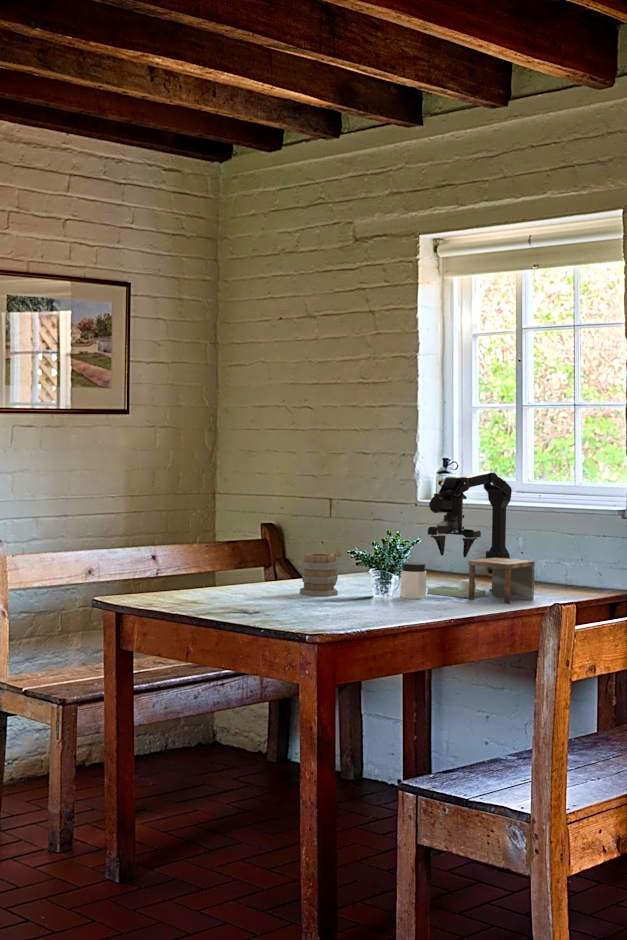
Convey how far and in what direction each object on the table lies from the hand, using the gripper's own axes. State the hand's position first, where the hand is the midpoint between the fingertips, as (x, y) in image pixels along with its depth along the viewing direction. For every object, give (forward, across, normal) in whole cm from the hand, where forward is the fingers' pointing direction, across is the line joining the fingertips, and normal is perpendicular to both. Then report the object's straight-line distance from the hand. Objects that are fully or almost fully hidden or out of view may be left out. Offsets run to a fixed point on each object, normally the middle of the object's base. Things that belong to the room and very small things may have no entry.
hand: (453, 556), depth 451 cm
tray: (+14, -2, +6) cm, 15 cm away
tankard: (+14, -37, -26) cm, 47 cm away
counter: (+14, +16, +6) cm, 22 cm away
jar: (+14, -8, -13) cm, 21 cm away
